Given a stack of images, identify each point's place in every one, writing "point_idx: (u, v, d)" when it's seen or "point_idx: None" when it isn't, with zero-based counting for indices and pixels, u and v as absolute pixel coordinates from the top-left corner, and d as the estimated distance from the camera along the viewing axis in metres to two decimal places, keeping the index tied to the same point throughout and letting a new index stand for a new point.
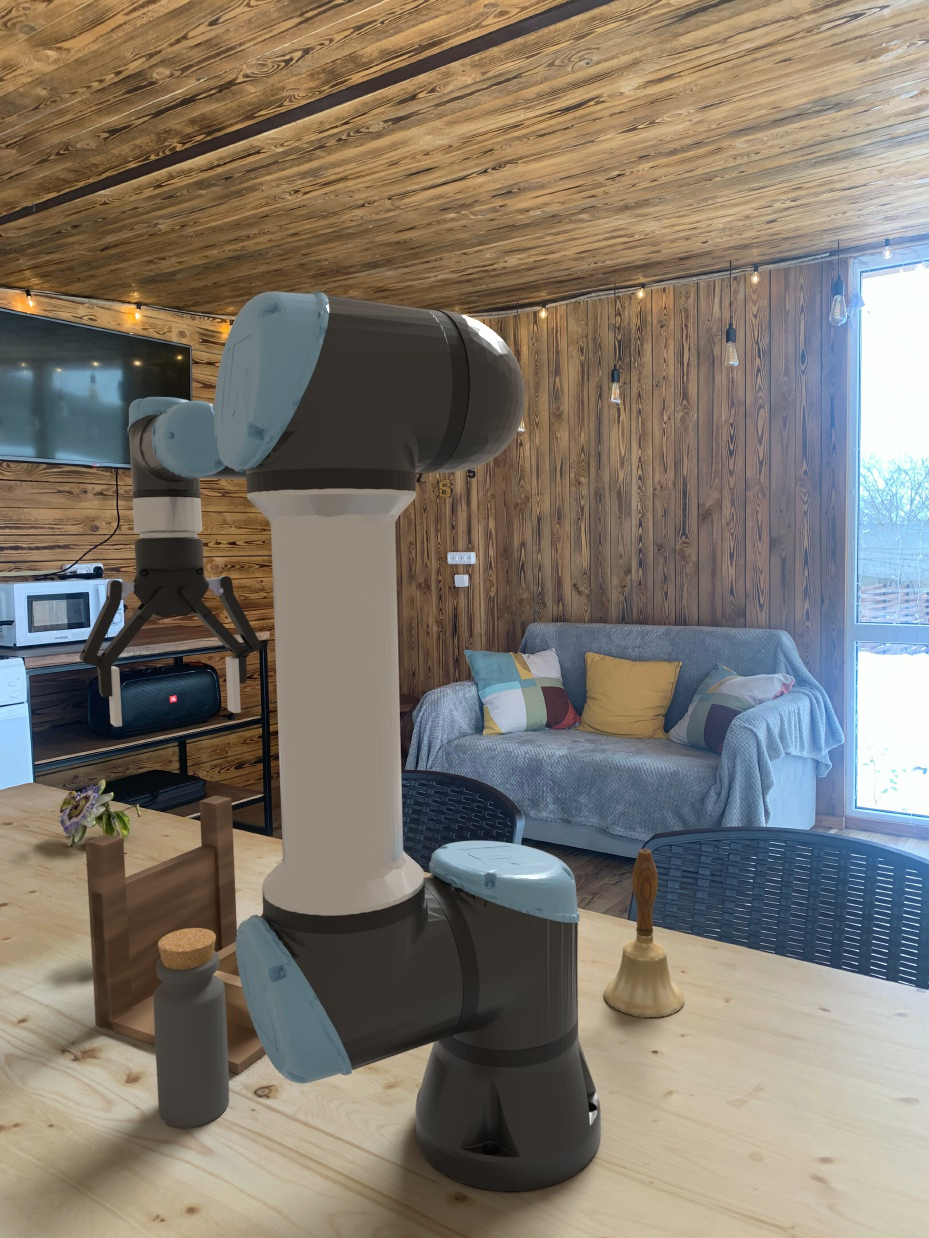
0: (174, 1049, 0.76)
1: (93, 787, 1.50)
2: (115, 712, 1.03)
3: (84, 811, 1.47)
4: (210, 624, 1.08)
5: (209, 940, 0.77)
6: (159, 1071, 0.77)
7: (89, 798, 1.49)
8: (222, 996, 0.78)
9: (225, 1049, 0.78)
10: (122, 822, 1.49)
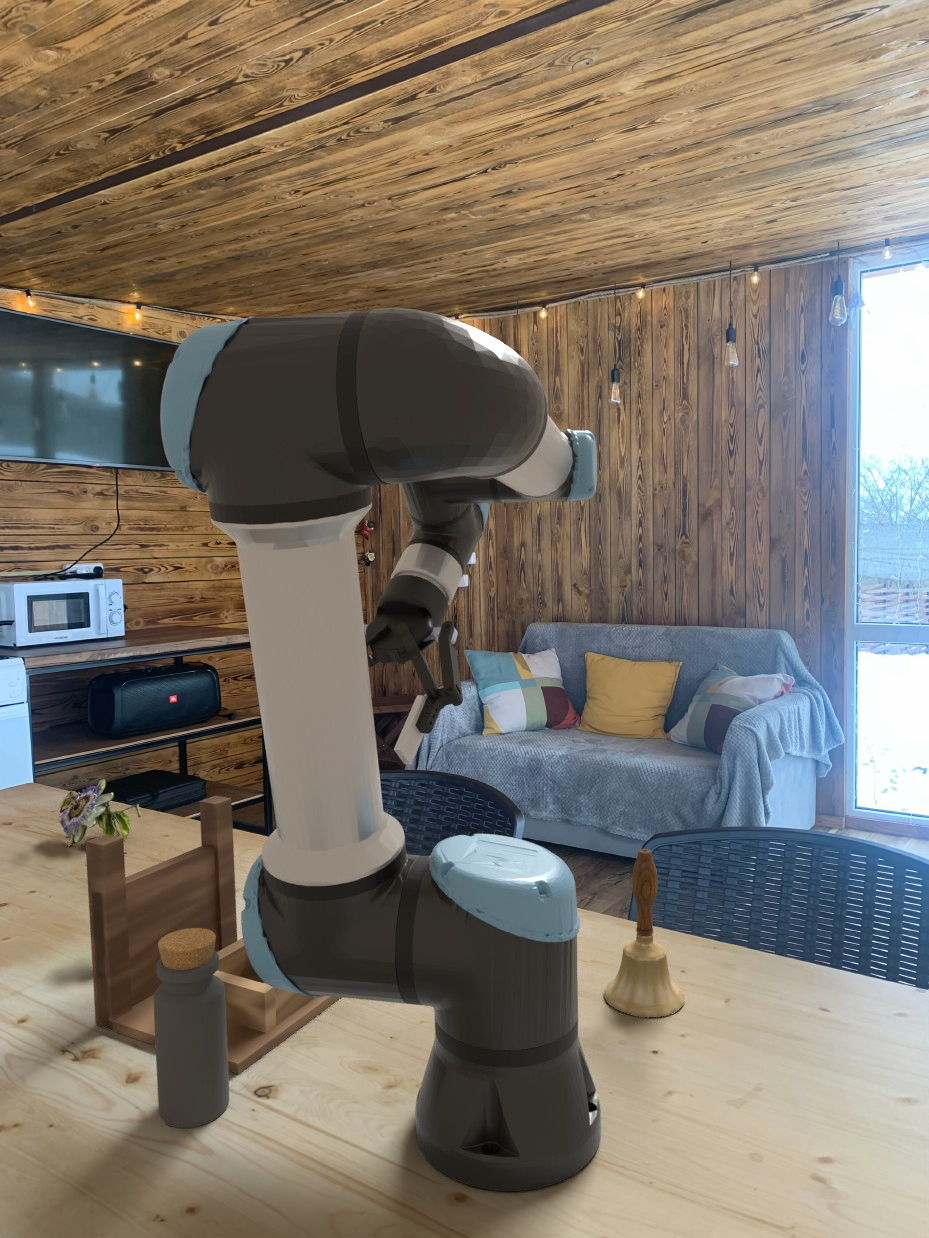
0: (174, 1049, 0.76)
1: (93, 787, 1.50)
2: None
3: (84, 811, 1.47)
4: (413, 661, 0.96)
5: (209, 940, 0.77)
6: (159, 1071, 0.77)
7: (89, 798, 1.49)
8: (222, 996, 0.78)
9: (225, 1049, 0.78)
10: (122, 822, 1.49)
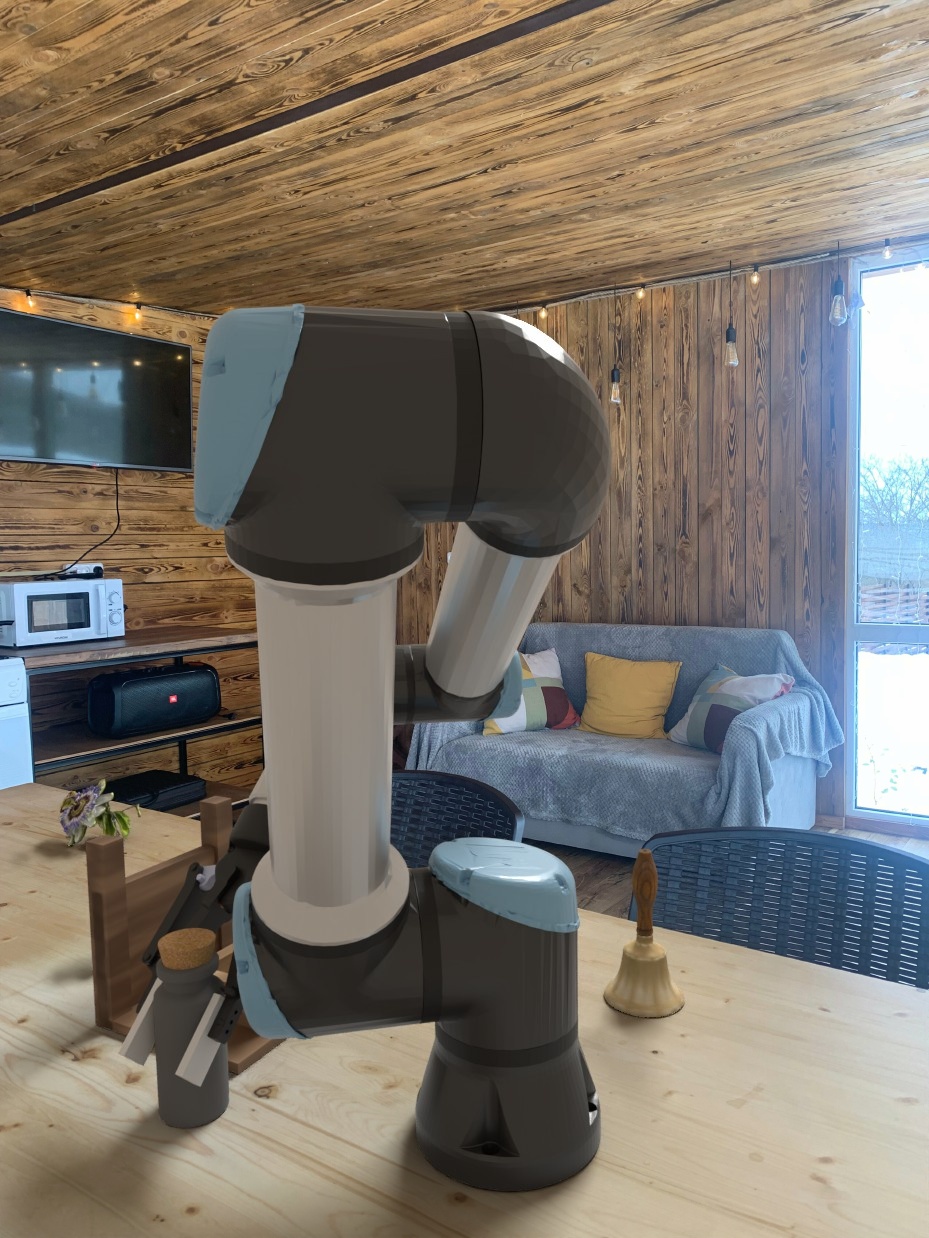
0: (174, 1049, 0.75)
1: (93, 787, 1.50)
2: (129, 1034, 0.77)
3: (84, 811, 1.47)
4: None
5: (209, 940, 0.77)
6: (159, 1071, 0.77)
7: (89, 798, 1.49)
8: None
9: (225, 1049, 0.78)
10: (122, 822, 1.49)
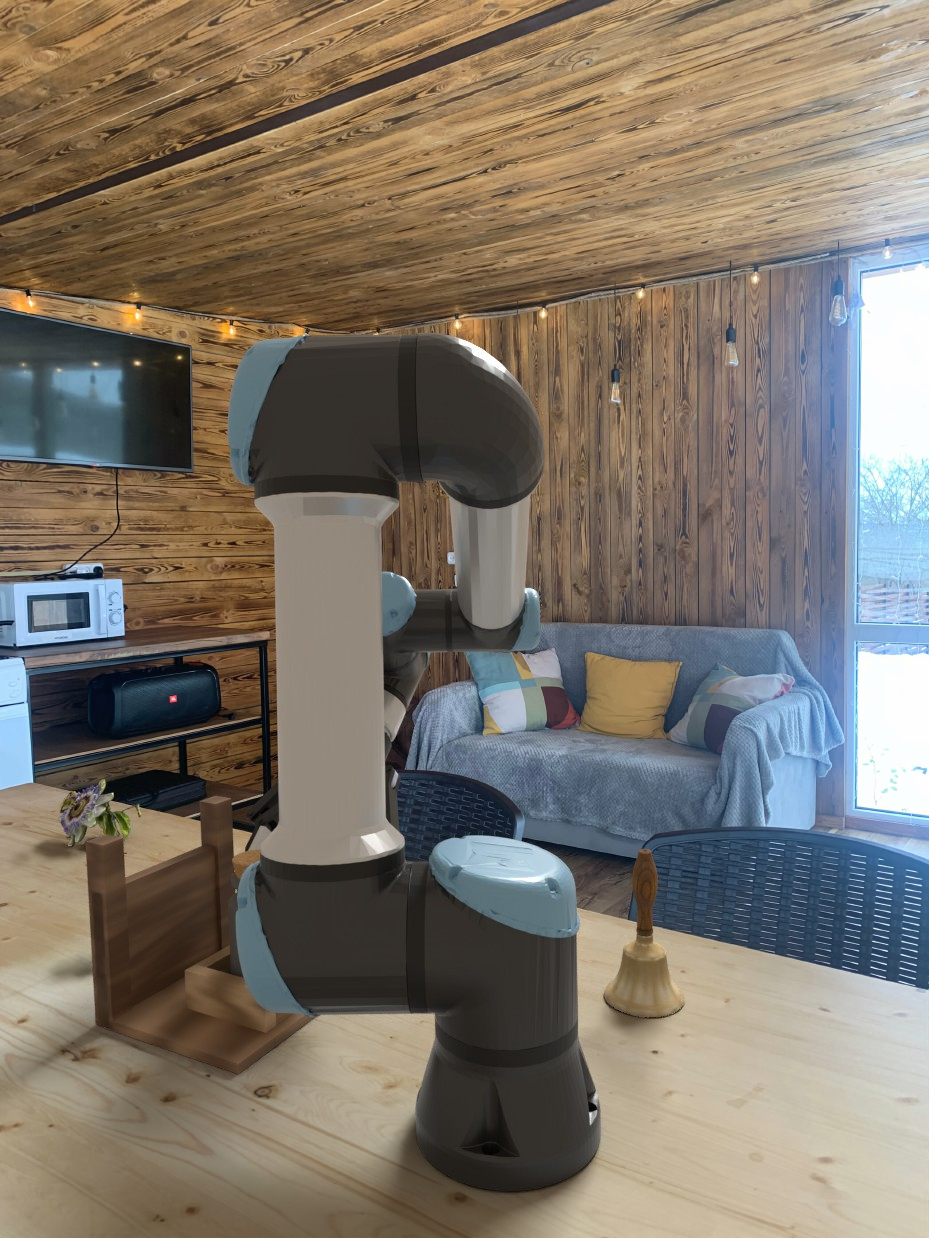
0: None
1: (93, 787, 1.50)
2: None
3: (84, 811, 1.47)
4: None
5: None
6: (233, 964, 0.94)
7: (89, 798, 1.49)
8: None
9: None
10: (122, 822, 1.49)
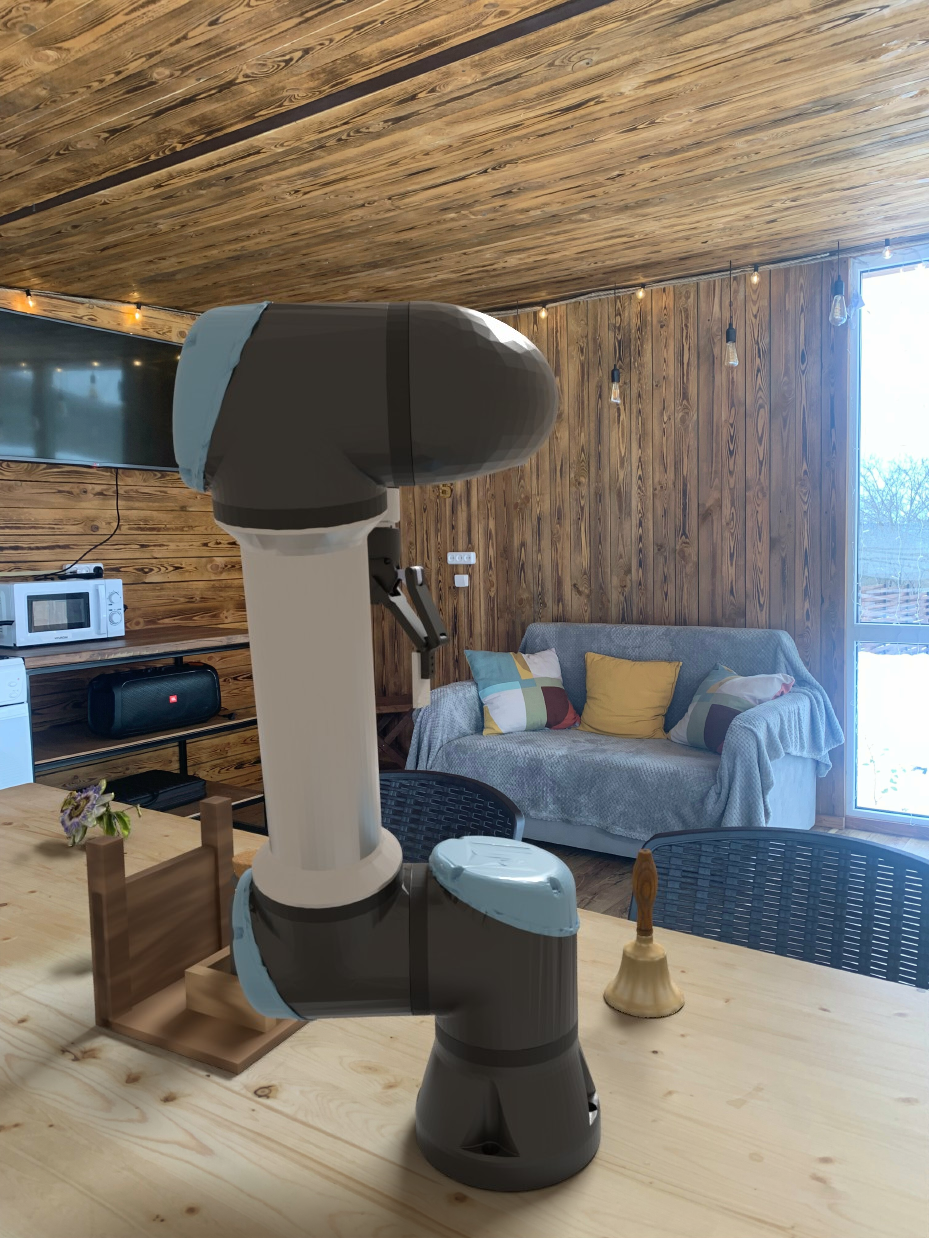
0: None
1: (94, 787, 1.50)
2: None
3: (85, 811, 1.47)
4: (394, 614, 1.07)
5: None
6: (233, 964, 0.94)
7: (90, 798, 1.49)
8: None
9: None
10: (123, 822, 1.49)
